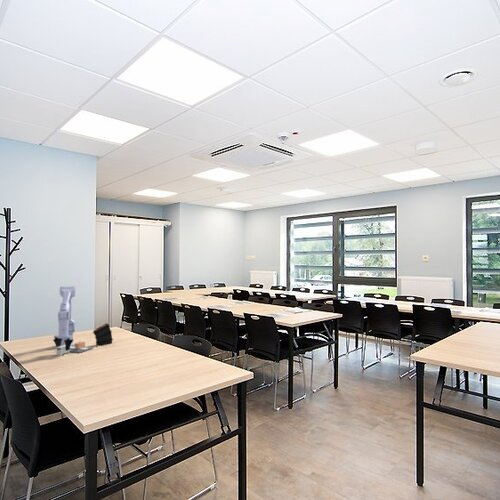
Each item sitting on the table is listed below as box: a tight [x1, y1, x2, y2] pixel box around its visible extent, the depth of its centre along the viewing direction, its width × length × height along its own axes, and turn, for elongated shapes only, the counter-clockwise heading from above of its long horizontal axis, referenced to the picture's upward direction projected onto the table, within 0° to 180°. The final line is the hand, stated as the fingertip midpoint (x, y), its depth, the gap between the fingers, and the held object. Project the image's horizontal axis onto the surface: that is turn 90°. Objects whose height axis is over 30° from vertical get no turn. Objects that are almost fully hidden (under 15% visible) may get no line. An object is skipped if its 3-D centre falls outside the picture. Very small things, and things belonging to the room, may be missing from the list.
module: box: [55, 345, 71, 356], centre depth 235 cm, size 4×7×5 cm, turn 161°
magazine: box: [92, 323, 114, 346], centre depth 263 cm, size 4×13×15 cm, turn 133°
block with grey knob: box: [74, 341, 86, 349], centre depth 244 cm, size 3×6×4 cm, turn 161°
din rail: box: [61, 345, 94, 354], centre depth 245 cm, size 20×12×3 cm, turn 71°
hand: (63, 349), depth 235 cm, fingers open, 7 cm apart
